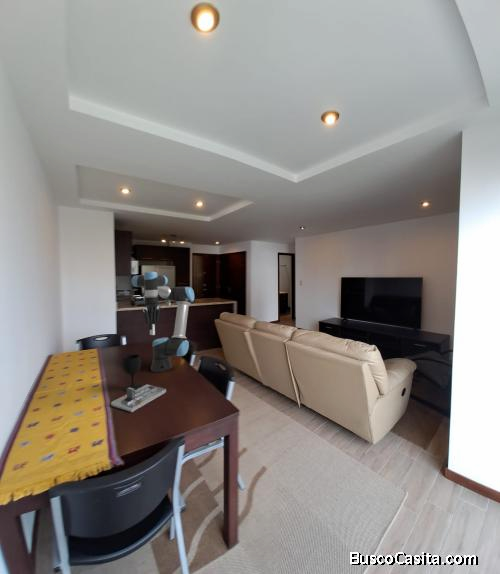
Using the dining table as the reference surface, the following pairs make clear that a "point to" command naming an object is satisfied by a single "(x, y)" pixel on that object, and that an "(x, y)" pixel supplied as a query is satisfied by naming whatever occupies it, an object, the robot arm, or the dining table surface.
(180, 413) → the dining table surface
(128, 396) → the fader knob
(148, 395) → the console
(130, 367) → the wine glass
